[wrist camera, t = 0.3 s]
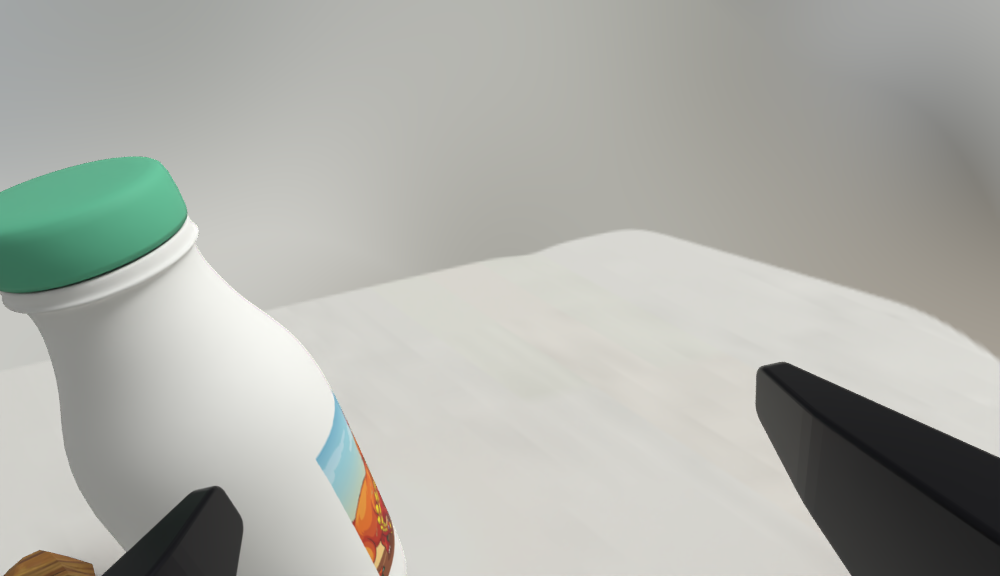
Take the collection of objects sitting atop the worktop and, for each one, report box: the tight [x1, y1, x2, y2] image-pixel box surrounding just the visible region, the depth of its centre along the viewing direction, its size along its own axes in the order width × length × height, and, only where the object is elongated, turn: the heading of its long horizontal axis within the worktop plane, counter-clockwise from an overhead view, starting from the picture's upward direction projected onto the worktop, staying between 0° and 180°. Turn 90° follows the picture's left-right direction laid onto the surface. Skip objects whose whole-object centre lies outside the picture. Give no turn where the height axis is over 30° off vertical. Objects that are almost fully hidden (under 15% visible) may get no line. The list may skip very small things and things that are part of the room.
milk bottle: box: [0, 157, 407, 576], centre depth 19 cm, size 8×8×20 cm
